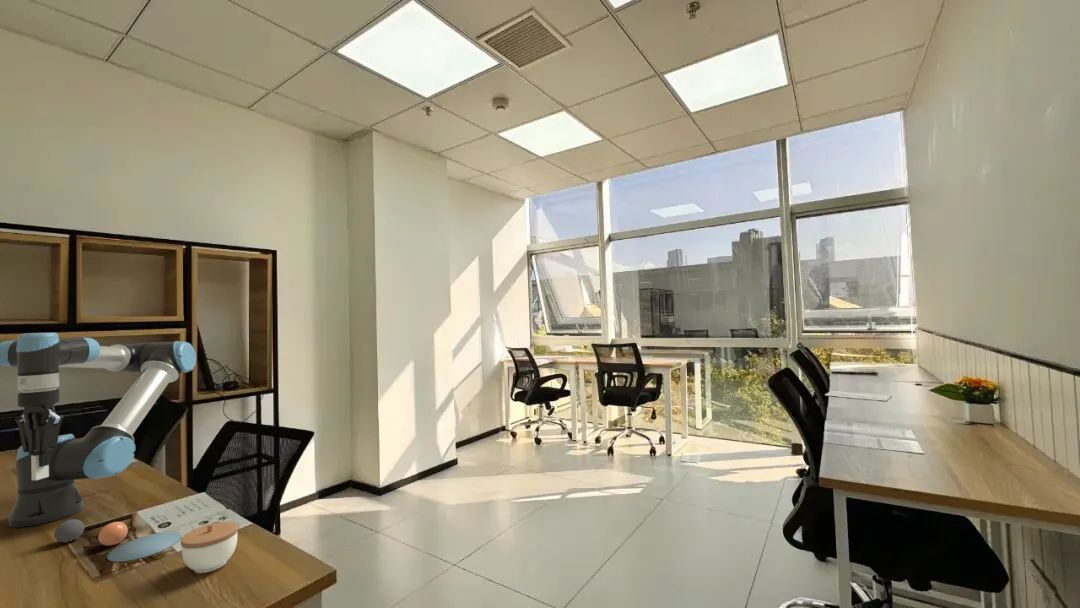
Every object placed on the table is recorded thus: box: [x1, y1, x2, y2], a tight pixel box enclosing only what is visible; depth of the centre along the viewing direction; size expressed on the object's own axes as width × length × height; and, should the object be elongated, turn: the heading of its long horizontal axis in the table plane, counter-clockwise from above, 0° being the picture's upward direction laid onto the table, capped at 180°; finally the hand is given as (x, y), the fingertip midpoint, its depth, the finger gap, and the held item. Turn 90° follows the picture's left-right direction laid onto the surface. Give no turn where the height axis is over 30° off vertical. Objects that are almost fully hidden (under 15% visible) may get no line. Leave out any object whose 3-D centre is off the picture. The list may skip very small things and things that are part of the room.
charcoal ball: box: [53, 518, 85, 543], centre depth 119 cm, size 6×6×6 cm
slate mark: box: [106, 531, 182, 563], centre depth 114 cm, size 14×14×1 cm
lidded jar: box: [180, 521, 239, 574], centre depth 104 cm, size 11×11×9 cm
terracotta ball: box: [97, 521, 129, 547], centre depth 116 cm, size 6×6×6 cm
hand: (40, 478), depth 121 cm, fingers closed
